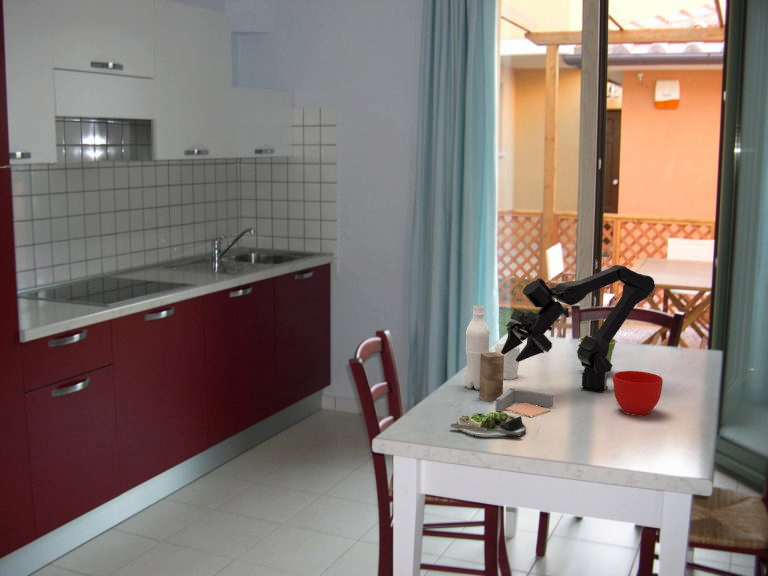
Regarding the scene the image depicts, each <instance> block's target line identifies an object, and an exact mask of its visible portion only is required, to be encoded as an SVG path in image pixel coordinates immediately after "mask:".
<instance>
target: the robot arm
mask: <svg viewBox="0 0 768 576" xmlns="http://www.w3.org/2000/svg"><path fill="white" fill-rule="evenodd" d="M618 282H621V284H623V287H622V292H621V293H622V294H621V297H620V299H619V300H618V301H617V302H616V304H615V305H614V307H613V308H612V309H611V311H610V313H609V314H608V315H607V317H606V318H605V320H604V321H603V323H602V324H601V326H600V327H599V328H598V330H597V331H596V333H595V334H593V335H591V336H592V337H589V335H585V336H583V337H584V339H583V341H582V342H581V341H580V343H579V344H578V345H577V347H578V349H577V350H576V353H577V358H578V360H579V361H580V365H581V367H586V368H584V371H583V372H582V374H581V375H582V376H581V386H582V387H581V390H585V391H591V392H597V393H604V392H605V391H606V390H607V389H608V388H609V386H608V375H607V372H608V373H610V372H611V371H612V369H613V364H612V363H611V362H609V361H608V360H607V358H606V357H607V355H608V352H609V344H610V342H611V340H612V339H614V338H615V336H616V335H617V333H618V332H619V331H620V329H621V328H622V326H623V325H624V323H625V321H626V320H627V319H628V317H629V316H630V315H631V313H632V311H633V310H634V309H635V307H636V306H637V305H638V304H639V303H641V302H643V301H644V300H646V299H647V298H648V297H649V296H650V295H651V294H652V293H653V292H654V289H655V287H656V285H655V284H656V283H655V280H654V278H653V277H652V276H651V275H646V274H641V273H638V272H636V271H633V270H631V269H630V268H628V267H627V266H624V265H621V264H620V265H619V264H614V265H612V266H611V267H608V268H607V269H603V270H601V271H599V272H597V273H594V274H592V275H590V276H587V277H584V278H583V279H579V280H570V281H565V282H560V283H558V284H556V285H555V287H549V286H548V285H547V284H546V282H545V280H544V279H543V278H540V277H538V278H537V279H536V280H533V281H531V282H530V283H528V284H526V285H525V287H524V288H523V290H522V294H523V295H524V296H525V297H526V299H527V300H528V301H529V302H530V303H531V304H532V305H533V307H535V308H538V309H539V308H540V309H539V310H537V312H536V313H535V312H532V311H530V310H526V311H522V310H519V309H517V308H514V309H513V312H512V313H511V316H510V319H511V320H510V321H509V322H508V323H507V324H506V325H505V327H506V331H507V337H506V340H505V342H504V343H505V344H504V347H503V349H502V351H501V353H502V354H503V355H504V354H506V353H508V352H509V351H511V350H512V349H514V348H516V347H517V346H521V345H522V344H523V342H524V341H525V340H526V344H525V345H524V346H523V348H522V349H521V350H520V354H519V355H518V356H517V358H516V361H517V362H519V363H520V362H522V361H525V360H526V359H530V358H531V357H535V356H537V355H540V354H544V353H549V351H550V350H551V349H553V342H552V341H550V338H548V337H547V336H546V335H545V334H546V333H547V331H548V332H551V331H552V330H553V329H554V328H553V327H552V326H553V325H554V323H556V321H558V319H559V318H560V317H561V316H562V317H564V318H570V312H569V310H570V309H569V307H566V306H564V305H562V304H565V305H567V306H568V305H569V306H575V305H577V304H578V303H580V302H581V301H583V300H584V299H585V298H586V297H587V295H590V294H591V293H593V292H595V291H597V290H600V289H602V288H605V287H607V286H610V285H612V284H615V283H618ZM554 299H555V300H554Z"/></svg>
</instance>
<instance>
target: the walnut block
mask: <svg viewBox="0 0 768 576" xmlns="http://www.w3.org/2000/svg"><path fill="white" fill-rule="evenodd" d="M503 373H504V356H503V355H501V354H499V353H497V352H495V351H492V352H491V351H489V353H481V357H480V389H479V390H478V391H479V392H478V395H479V396H478V397H479V398H481V399H482V400H483V401H485V402H496V399H497V398H498V397H499V396H501V395H502V394H504V379H503Z"/></svg>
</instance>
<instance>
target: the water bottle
mask: <svg viewBox="0 0 768 576" xmlns="http://www.w3.org/2000/svg"><path fill="white" fill-rule="evenodd" d="M484 307H485V306H484V305H481V304H475V305H473V311H472V318H471V320H470V322H469V324H468V325H467V327H466V330H465V350H464V351H465V353H466V361H467V363H466V370H465V374H464V384H465V386H466V387H467V388H468V389H473V387H474V389H475V390H478V391H479V389H480V357H481V353H489V352H490V334H491V332H490V328H489V327H488V326H489V325H488V323H487V321H486V320H485V317H484V315H485V310H484V309H485V308H484Z"/></svg>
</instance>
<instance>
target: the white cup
mask: <svg viewBox="0 0 768 576" xmlns="http://www.w3.org/2000/svg"><path fill="white" fill-rule="evenodd" d="M504 344H505V342H502V343H496V344H495V345H494V352H497V353H499V354H501V355H503V354H502V353H501V351H502V349H503V347H504ZM520 352H521V345H519V346H517V347H516V348H514V349H512V350H511V351H509V352H508V353H506V354H504V355H503V356H504V373H503V380H515V379H517V378H518V373H519V371H518V370H519V364H520V362H517V361H516V358H517V356H518V355H519V354H520Z"/></svg>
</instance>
